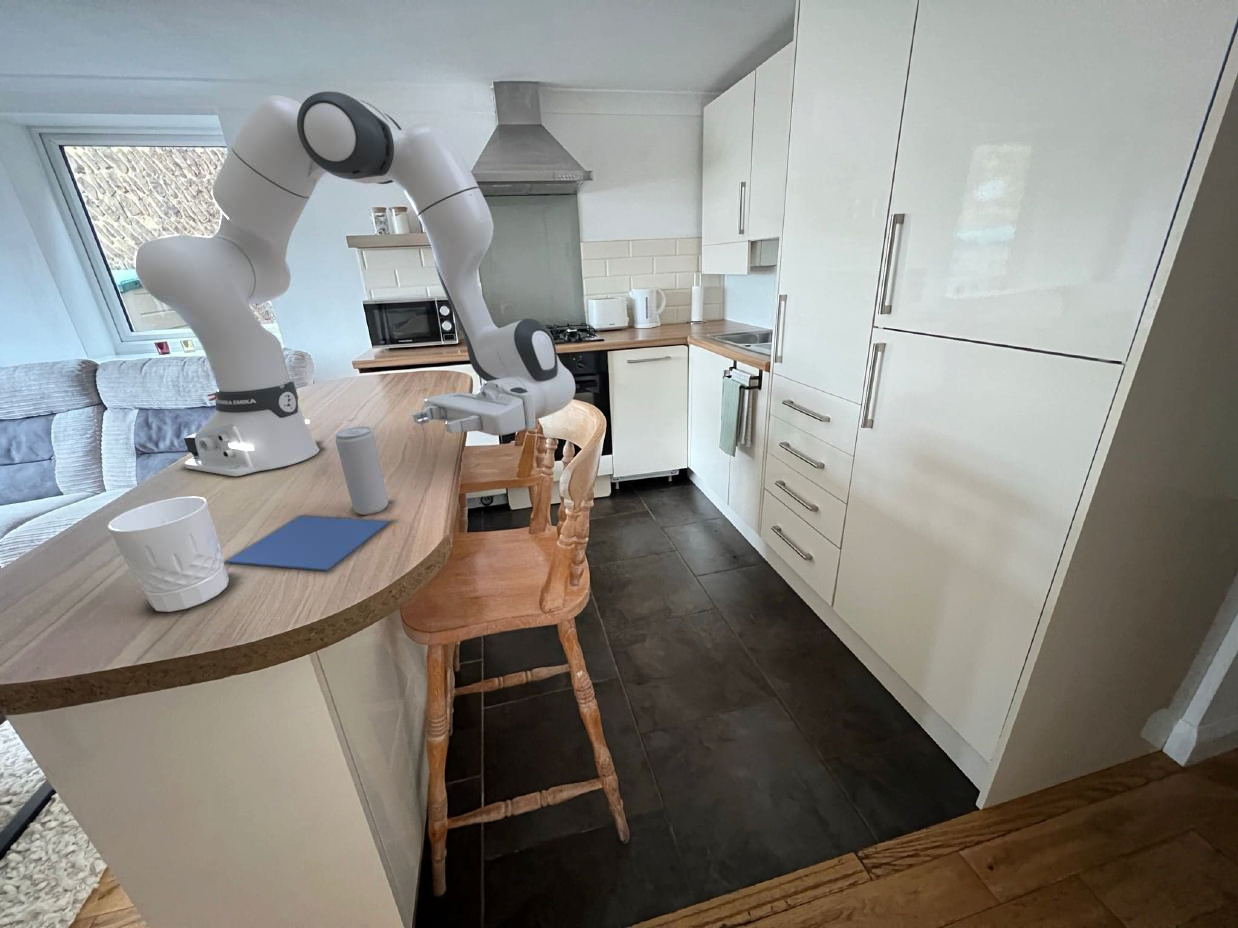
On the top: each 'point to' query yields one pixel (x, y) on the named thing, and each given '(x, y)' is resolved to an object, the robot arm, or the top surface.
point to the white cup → (172, 552)
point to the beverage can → (362, 469)
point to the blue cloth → (309, 543)
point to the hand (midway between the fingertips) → (431, 423)
